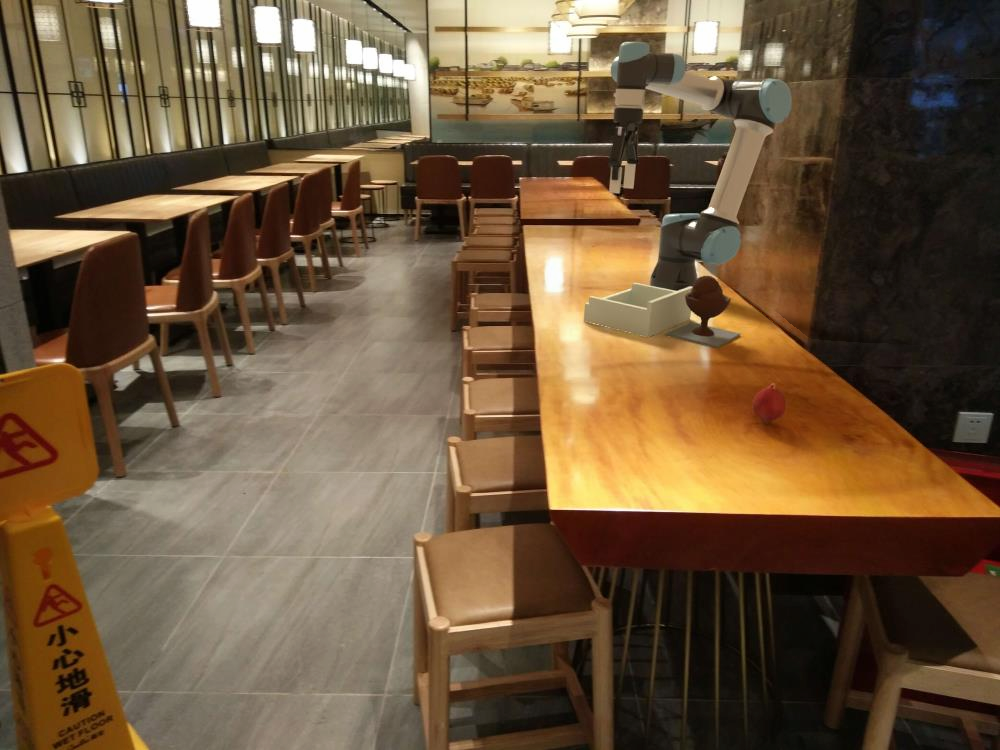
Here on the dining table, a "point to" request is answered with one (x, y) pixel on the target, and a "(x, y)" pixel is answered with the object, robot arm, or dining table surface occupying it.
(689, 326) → the slate mat
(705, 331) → the ice cream bowl
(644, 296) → the drawer
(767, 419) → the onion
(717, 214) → the robot arm
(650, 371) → the dining table surface
